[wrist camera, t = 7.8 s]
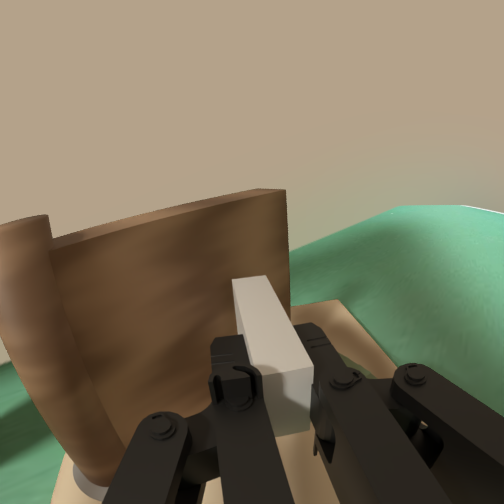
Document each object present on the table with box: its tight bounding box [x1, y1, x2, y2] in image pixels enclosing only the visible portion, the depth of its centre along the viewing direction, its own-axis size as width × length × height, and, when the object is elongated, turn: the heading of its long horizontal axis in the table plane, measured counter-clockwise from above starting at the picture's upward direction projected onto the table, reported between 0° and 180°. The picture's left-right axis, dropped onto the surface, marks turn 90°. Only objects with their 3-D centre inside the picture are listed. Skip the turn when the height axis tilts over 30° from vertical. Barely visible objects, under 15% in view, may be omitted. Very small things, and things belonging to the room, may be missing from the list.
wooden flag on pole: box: [0, 189, 291, 487], centre depth 14 cm, size 16×3×12 cm, turn 138°
